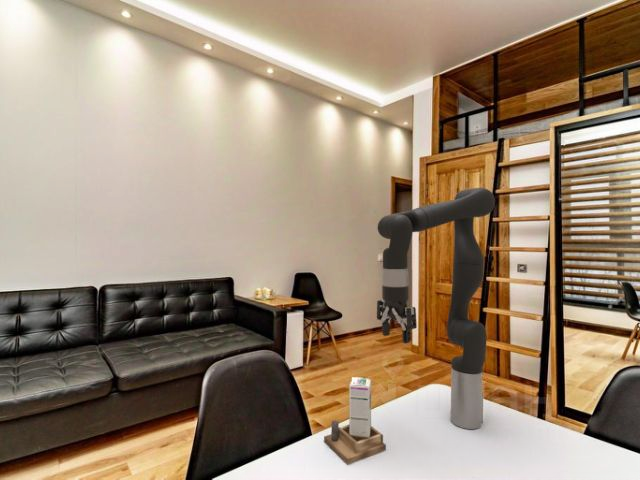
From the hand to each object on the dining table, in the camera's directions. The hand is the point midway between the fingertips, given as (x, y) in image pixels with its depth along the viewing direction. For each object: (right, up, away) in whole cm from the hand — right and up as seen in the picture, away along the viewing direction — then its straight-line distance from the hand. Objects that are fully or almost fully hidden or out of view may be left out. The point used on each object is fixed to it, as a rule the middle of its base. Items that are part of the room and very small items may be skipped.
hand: (395, 338), depth 106 cm
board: (-12, -30, -2) cm, 32 cm away
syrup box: (-11, -26, -2) cm, 28 cm away
